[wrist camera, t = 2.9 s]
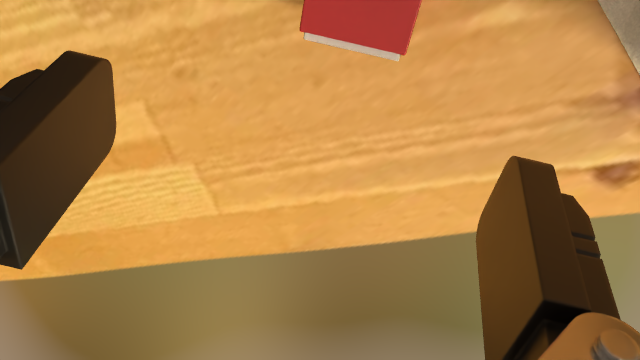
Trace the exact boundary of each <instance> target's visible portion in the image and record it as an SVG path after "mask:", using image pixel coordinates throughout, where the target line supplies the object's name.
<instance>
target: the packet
mask: <svg viewBox="0 0 640 360" xmlns="http://www.w3.org/2000/svg"><path fill="white" fill-rule="evenodd" d="M421 2H422V0H304V4H303V11H302V17H301V23H300V31H301V32H305V33H304V39H305V40H309V41H313V42H317V43H322V44H326V45H330V46H335V47H339V48H343V49H347V50H352V51H356V52H360V53H365V54H369V55H373V56H378V57H382V58H386V59H391V60H395V61H399V59H400V55H405V54H406V52H407V48H408V45H409V42H410V38H411V35H412V32H413V28H414V25H415V22H416V18H417V15H418V12H419V8H420V5H421Z"/></svg>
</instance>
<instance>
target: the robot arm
mask: <svg viewBox="0 0 640 360" xmlns="http://www.w3.org/2000/svg"><path fill="white" fill-rule="evenodd" d="M115 133H116V114H115V101H114V87H113V73H112V67H111V64H110V62H109V61H108V60H107V59H104V58H99V57H95V56H91V55H86V54H82V53H78V52H74V51H66V52H64V53H63V54H62V55H61V56H60V57H59V58H58V59H56V60H55V61H54V62H53V63H52V64H51V65H50V66H49V67H48V68H46V69H45V70H44V71H43V70H39V69H36V70H33V71H31V72H28V73H26V74H24V75H21V76H19V77H16V78H14V79H11V80H10V81H9V82H8V83H7V84H6V85H4V86H3V87H2V88H1V89H0V264H1V265H5V266H9V267H13V268H17V269H21V270H22V269H23V267H24V266H25V265H26V263H27V262H28V261H29V259H30V258H31V257H32V255H33V254H34V253H35V251H36V250H37V249H38V247H39V246H40V245H41V243H42V242H43V241H44V239H45V238H46V237H47V235H48V234H49V232H50V231H51V230H52V228H53V227H54V226H55V224H56V223H57V222H58V220H59V219H60V218H61V216H62V215H63V214H64V212H65V211H66V210H67V208H68V207H69V206H70V204H71V203H72V202H73V200H74V199H75V198H76V196H77V195H78V194H79V192H80V191H81V190H82V188H83V187H84V186H85V184H86V183H87V182H88V180H89V179H90V178H91V176H92V175H93V174H94V172H95V171H96V170H97V168H98V167H99V166H100V164H101V163H102V162H103V160H104V159H105V158H106V156H107V155H108V153H109V152H110V150H111V147H112V145H113V142H114V138H115ZM594 240H595V235H594V231H593V228H592V225H591V222H590V218H589V216H588V215H587V214H586V212H585V211H584V210H583V208H582V207H581V206H580V205H579V203H578V202H577V201H576V199H575V198H574V197H573V196H571V195H567V194H562V193H561V192H560V188H559V184H558V180H557V177H556V173H555V169H554V167H553V165H551V164H547V163H543V162H538V161H534V160H530V159H526V158H521V157H517V156H512V157H511V158H510V159H509V160H508V162H507V163H506V165H505V167H504V169H503V171H502V173H501V175H500V177H499V179H498V181H497V183H496V185H495V187H494V189H493V191H492V193H491V195H490V197H489V199H488V201H487V204H486V206H485V208H484V210H483V212H482V214H481V217H480V220H479V224H478V228H477V235H476V245H477V246H476V247H477V260H478V273H479V286H480V297H481V298H480V299H481V312H482V323H483V337H484V350H485V360H640V333H639V332H638V331H636V330H635V329H634V328H632V327H631V326H630V325H628V324H626V323H625V322H623V321H621V320H620V316H619V313H618V310H617V307H616V303H615V300H614V297H613V294H612V290H611V287H610V284H609V280H608V277H607V274H606V271H605V267H604V264H603V261H602V259H600V255H601V254H600V251H599V248H598V244H597V242H595V241H594Z"/></svg>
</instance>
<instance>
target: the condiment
mask: <svg viewBox="0 0 640 360" xmlns="http://www.w3.org/2000/svg"><path fill="white" fill-rule="evenodd" d="M598 2H599V3H600V5H601V7H602V9H603V11H604V12H605V14H606V16H607V18H608V19H609V21H610V23H611V25H612V27H613V28H614V30H615V32H616V34H617V35H618V37H619V39H620V41H621V43H622V44H623V46H624V48H625V50H626V51H627V53H628V55H629V57H630V59H631V60H632V62H633V64H634V66H635V67H636V69H637V71H638V73H639V75H640V0H598Z"/></svg>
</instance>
